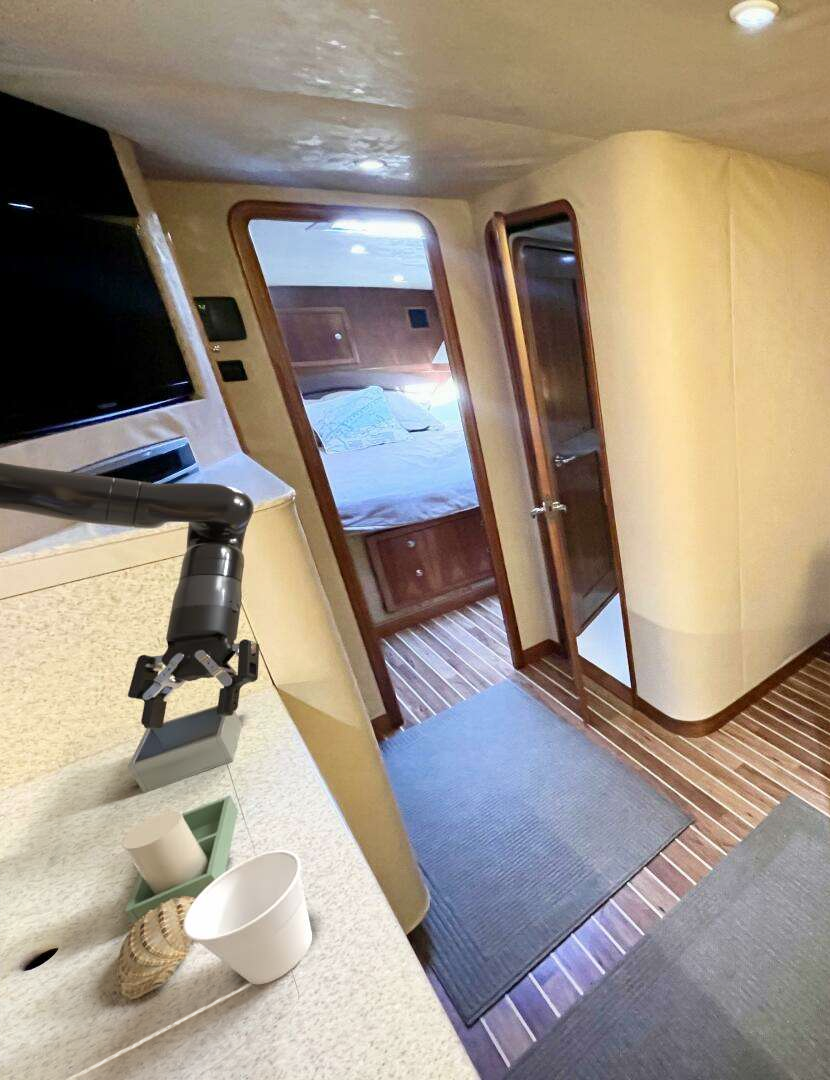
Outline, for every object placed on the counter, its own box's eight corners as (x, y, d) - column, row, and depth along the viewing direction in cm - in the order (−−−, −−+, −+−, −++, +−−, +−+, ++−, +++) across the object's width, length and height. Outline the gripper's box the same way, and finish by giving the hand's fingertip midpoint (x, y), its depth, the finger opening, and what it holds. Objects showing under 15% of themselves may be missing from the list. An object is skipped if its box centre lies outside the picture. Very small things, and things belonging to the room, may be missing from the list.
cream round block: (153, 913, 66) (115, 857, 63) (164, 879, 71) (128, 825, 67) (209, 888, 69) (176, 832, 65) (216, 857, 73) (186, 803, 70)
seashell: (227, 960, 64) (198, 891, 68) (213, 945, 60) (184, 873, 64) (137, 1021, 58) (111, 943, 62) (115, 1009, 55) (89, 926, 59)
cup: (229, 949, 62) (189, 885, 58) (329, 895, 68) (300, 834, 64) (220, 1030, 55) (174, 963, 51) (334, 962, 60) (301, 898, 56)
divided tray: (137, 931, 65) (124, 912, 64) (168, 840, 77) (157, 822, 76) (222, 892, 69) (211, 874, 68) (239, 812, 81) (230, 795, 80)
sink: (143, 793, 85) (127, 766, 83) (161, 751, 94) (147, 727, 92) (233, 761, 91) (220, 735, 89) (242, 725, 100) (230, 701, 98)
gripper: (128, 612, 75) (103, 730, 69) (244, 595, 78) (230, 708, 72) (170, 625, 82) (150, 735, 76) (276, 610, 85) (265, 714, 79)
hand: (189, 721), depth 74 cm, fingers open, 8 cm apart
